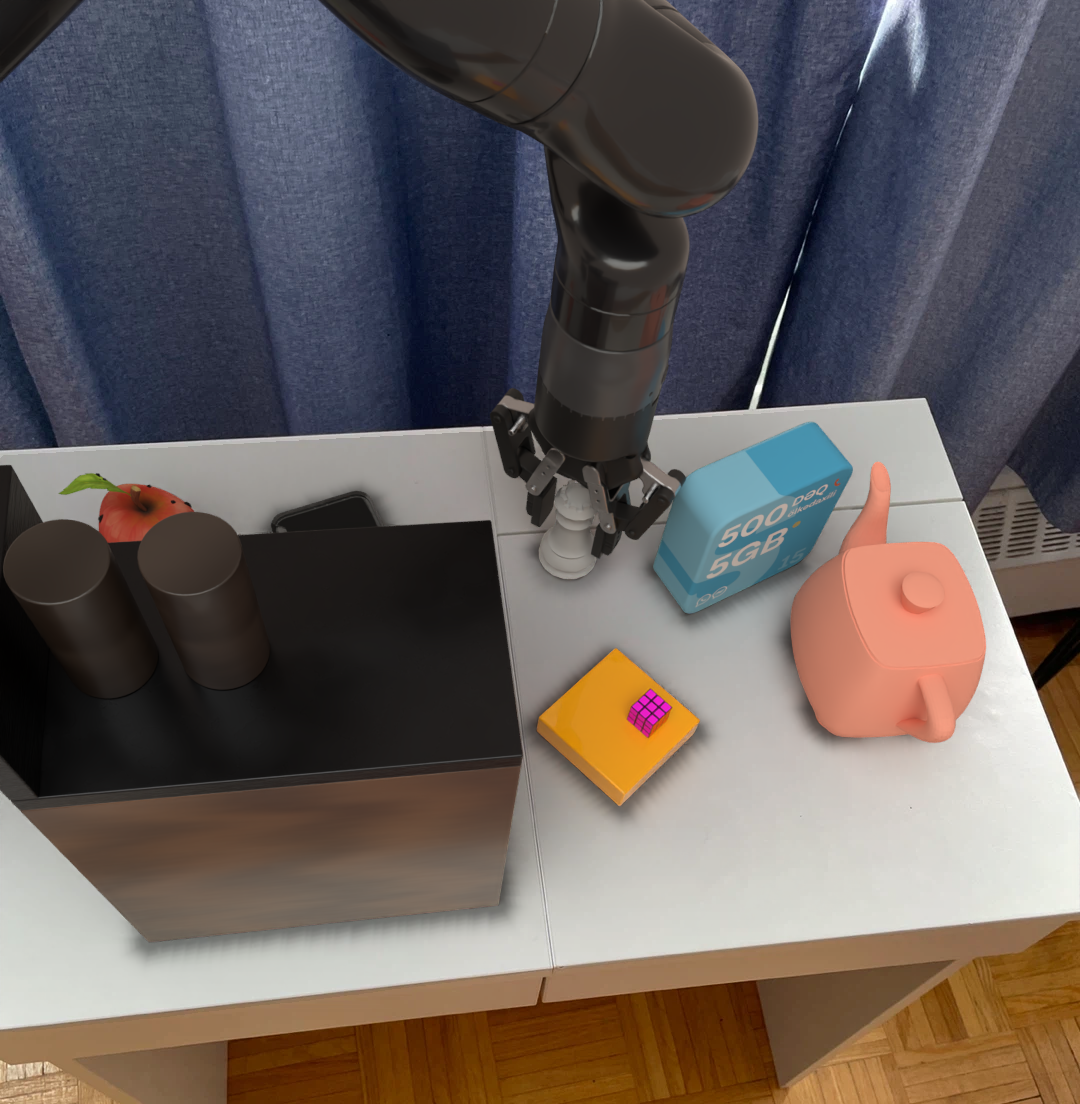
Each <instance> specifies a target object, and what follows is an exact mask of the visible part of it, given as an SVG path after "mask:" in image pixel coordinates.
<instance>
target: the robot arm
mask: <svg viewBox="0 0 1080 1104" xmlns="http://www.w3.org/2000/svg"><path fill="white" fill-rule="evenodd" d="M85 2H86V0H0V84H2V83H3V81H5V80H6V79H7V78H8V77H9V76H10V75H11V74H12V73H13V72H14V71H15V70H16V69H17V68H18V67H19V66H20V65H21V64H22V63H23V62H24V61H25V60H26V59H27V58H28V57H29V56H30V55H31V54H32V53H33V52H34V51H35V50H36V49H38V47H39V46H40V45H41V44H43V43H44V42H45V41H46V40H47V38H48V37H50V35H52V34H53V33H54V32H55V31H56V30H57V29H58V28H59V27H60V26H61V25H62V24H63V23H64V22H65V21H66V20H67V19H68V18H69V17H70V16H71V15H72V14H73V13H74V12H75V11H76V10H77V9H78V8H79V7H81V5H82V4H83V3H85ZM317 2H319V3H320V4H321V5H322V6H323V7H324V8H326V9H327V10H328V12H330V13H331V14H332V15H333V16H334V17H335V18H336V19H338V20H339V21H340V22H341V23H342V24H343V25H344V26H346V27H347V28H348V29H349V30H350V31H351V32H352V33H354V35H356V36H357V37H358V38H359V39H360V40H362V42H364V43H365V44H366V45H367V46H368V47H369V48H371V50H372V51H375V53H377V54H378V55H379V56H381V57H382V58H383V59H385V60H386V62H389V63H390V64H391V65H392V66H394V67H395V68H397V69H398V70H400V71H401V72H402V73H404V74H405V75H406V76H408V77H410V78H412V79H413V80H415V81H417V82H418V83H420V84H422V85H423V86H425V87H427V88H429V89H431V90H432V91H435V92H436V93H438V94H440V95H442V96H444V97H446V98H448V99H449V100H451V101H453V102H456V103H458V104H460V105H461V106H463V107H465V108H468V109H470V110H471V111H473V112H475V113H477V114H479V115H481V116H483V117H485V118H487V119H488V120H491V121H493V122H496V123H498V124H500V125H502V126H505V127H507V128H510V129H513V130H516V131H519V132H520V133H523V134H524V135H526V136H528V137H530V138H531V139H533V140H535V141H536V142H537V143H539V144H541V145H543V153H544V160H545V167H546V175H547V183H548V189H549V190H548V191H549V197H550V204H551V208H552V213H553V217H554V222H555V228H556V234H557V243H556V250H555V256H554V263H553V264H554V265H553V273H552V281H551V288H550V297H549V299H550V300H549V303H548V307H547V309H546V314H545V317H544V321H543V325H542V331H541V339H540V349H539V358H538V368H537V377H536V386H535V396H534V403H532V402H528V401H525V397H524V395H523V393H522V392H521V391H520V390H519V389H517V388H515V387H510V388H509V389H507V391H506V392H505V394H504V395H503V396H502V397H501V399H500V400H499V401H498V403H497V404H496V405H495V406H494V407H493V409H492V410H491V411H490V413H489V418H490V422H491V426H492V431H493V433H494V436H495V441H496V445H497V448H498V453H499V457H500V461H501V463H502V468H503V471H504V473H505V474H506V475H507V476H508V477H509V478H511V479H518V478H520V479H521V480H523V481H524V483H525V485H524V486H525V487H524V488H525V489H526V491H527V493H526V494H527V495H526V504H525V511H526V514H527V515H528V516H530V525H533V526H535V527H537V528H541V527H542V526H543V524H545V522H546V520H547V519H548V517H549V516H550V514H551V512H552V511H553V509H554V506H555V501H554V497H555V495H556V493H557V484H558V477H557V476H555V475H556V474H558V476H561V477H563V478H566V479H568V480H575V482H576V483H580V484H581V485H582V486H584V487H585V488H587V489H588V490H589V494H590V499H591V504H592V508H593V509H594V510H597V516H598V521H599V523H598V524H597V526H596V527H595V531H594V535H593V536H594V541H593V546H592V550H591V555H593V556H595V557H597V559H599V560H600V559H601V558H602V557H603V556H604V555H605V556H607V557H608V556H610V555H611V554H612V553H613V552H614V550H615V548H616V547H617V545H618V544H619V542H620V541H621V539H622V534H623V533H624V534H625V536H626V537H627V538H628V539H630V540H633V541H638V540H640V539H641V537H643V535H644V534H645V533H646V532H647V531H648V530H649V529H650V528H651V527H652V526H653V524H655V523H656V521H657V520H658V519H659V518H660V517H661V516H663V514H664V513H665V512H666V510H668V509H669V507H670V506H671V505H672V503H673V500H674V498H675V497H676V495H677V494H678V492H679V490H680V489H681V487H682V486H683V484H684V483H685V481H686V477H687V476H686V475H685V473H684V472H683V471H681V470H679V469H677V468H672V469H670V470H669V472H665V471H664V470H663V469H661V468H660V467H658V466H657V465H656V464H654V463H653V462H652V461H651V460H652V453H651V450H650V446H649V437H650V433H651V431H652V426H653V422H654V419H655V415H656V411H657V407H658V403H659V399H660V395H661V391H662V387H663V384H664V383H665V381H666V378H667V374H668V371H669V368H670V367H669V366H670V365H669V361H670V360H669V359H670V356H671V351H672V345H673V337H674V336H673V334H674V323H675V318H676V314H677V311H678V305H679V302H680V298H681V294H682V290H683V286H684V282H685V279H686V274H687V269H688V265H689V260H690V253H691V251H690V250H691V247H690V245H691V243H690V233H689V230H688V229H689V228H688V226H687V224H686V221H685V220H684V218H688V217H690V216H694V215H697V214H700V213H702V212H704V211H706V210H708V209H711V208H712V207H714V206H715V205H717V204H718V203H719V202H721V201H722V200H723V199H724V198H726V197H727V196H728V195H729V194H730V193H732V191H733V190H734V189H735V188H736V187H737V185H738V184H739V182H740V181H741V180H742V178H743V177H744V175H745V173H746V172H747V170H748V168H749V166H750V164H751V162H752V159H753V157H754V154H755V150H756V146H757V142H758V136H759V109H758V108H759V107H758V102H757V98H756V95H755V92H754V89H753V86H752V85H751V83H750V80H749V78H748V77H747V75H746V73H744V71H743V70H742V69H741V68H740V67H739V66H738V64H736V63H735V62H734V61H733V60H732V59H731V58H730V57H729V56H728V55H727V54H726V53H725V52H724V51H722V49H720V48H719V46H717V44H715V43H714V42H713V41H711V39H710V38H708V37H707V36H706V35H705V34H704V33H702V31H700V30H699V28H697V27H696V26H695V25H694V24H693V23H691V22H690V21H689V20H688V19H687V18H686V17H685V16H684V15H683V14H682V13H681V12H680V11H678V9H677V8H675V7H674V6H673V4H671V3H670V2H669V1H668V0H317ZM534 438H535V440H536V442H537V444H538V446H539V448H540V450H541V451H542V453H543V455H544V456H543V458H542V459H540V458H539V457H537V455H536V452H537V451H536V447H535V442H534ZM638 479H639V480H641V482H642V485H643V486H642V488H641V493H642V495H643V496H642V498H641V501H642V502H641V503H640V504H639V506H638V505H637V506H636V505H632V501H631V495H630V485H631V482H633V481H636V480H638Z"/></svg>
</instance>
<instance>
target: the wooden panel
mask: <svg viewBox="0 0 1080 1104" xmlns="http://www.w3.org/2000/svg"><path fill="white" fill-rule="evenodd" d="M521 771H522V765H521V766H516V767H504V768H493V769H482V770H471V771H459V772H448V773H437V774H426V775H414V776H403V777H392V778H381V779H370V780H358V781H347V782H336V783H325V784H313V785H302V786H291V787H280V788H268V789H257V790H246V791H235V792H223V793H212V794H201V795H190V796H178V797H167V798H156V799H145V800H133V801H122V802H111V803H100V804H88V805H77V806H66V807H55V808H43V809H32V810H19V811H20V813H21V814H22V815H23V816H24V817H25V818H26V819H27V820H28V821H29V822H30V823H31V824H32V825H33V826H34V827H35V828H36V829H37V830H38V831H39V832H40V833H41V834H42V835H43V836H44V837H45V838H46V839H47V840H48V841H49V842H50V844H51V845H52V846H54V847H55V849H57V850H58V851H59V852H60V853H61V855H62V856H63V857H64V858H66V860H67V861H68V862H69V863H70V864H71V865H72V866H73V867H74V868H75V869H76V870H77V871H78V872H79V873H80V874H81V875H82V876H83V877H84V878H85V880H87V881H88V882H89V883H90V884H91V885H92V886H93V887H94V888H95V889H96V890H97V891H98V892H99V894H100V895H102V896H103V898H105V900H106V901H107V902H108V903H109V904H110V905H111V906H112V907H114V908H115V910H116V911H117V912H118V913H119V914H120V915H121V916H122V917H123V918H124V919H125V920H126V921H127V922H128V923H129V924H130V925H131V926H132V928H134V929H135V930H136V931H137V932H138V933H139V934H140V935H141V936H142V937H143V938H144V939H145V940H146V941H147V942H148V943H157V942H166V941H173V940H174V941H177V940H185V939H194V938H195V939H196V938H204V937H214V936H224V935H232V934H241V933H251V932H252V933H253V932H261V931H269V930H270V931H271V930H280V929H291V928H299V927H300V928H301V927H309V926H317V925H327V924H336V923H337V924H338V923H348V922H355V921H365V920H376V919H384V918H395V917H402V916H403V917H404V916H413V915H422V914H430V913H431V914H432V913H442V912H450V911H451V912H452V911H461V910H470V909H479V908H488V907H498V906H499V904H500V898H501V893H502V887H503V881H504V873H505V868H506V864H507V863H506V862H507V856H508V849H509V844H510V837H511V833H512V825H513V819H514V813H515V807H516V801H517V794H518V788H519V782H520V777H521Z"/></svg>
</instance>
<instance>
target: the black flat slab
mask: <svg viewBox="0 0 1080 1104" xmlns="http://www.w3.org/2000/svg"><path fill="white" fill-rule="evenodd" d="M43 522H44V521H43V519H42V517H41V516H40V514H39V512H38V510H37V509H36V507H35V504H34V503H33V501H32V499H31V497H30V496H29V494H28V492H27V490H26V488H25V487H24V485H23V483H22V482H21V480H20V478H19V476H18V473H16V470H15V469H14V467H13V465H12V464H0V792H1V793H2V795H4V796H5V797H6V798H7V799H8V801H10V803H12V804H13V806H15V807H16V809H17V810H19V811H20V810H32V809H43V808H55V807H66V806H77V805H88V804H100V803H111V802H122V801H133V800H145V799H156V798H167V797H178V796H190V795H201V794H212V793H223V792H235V791H246V790H257V789H268V788H280V787H291V786H302V785H313V784H325V783H336V782H347V781H358V780H370V779H381V778H392V777H403V776H414V775H426V774H437V773H448V772H459V771H471V770H482V769H493V768H504V767H516V766H521V767H522V764H523V757H524V751H523V745H522V738H521V729H520V723H519V722H520V721H519V715H518V714H519V713H518V707H517V700H516V699H517V698H516V693H515V691H516V690H515V686H514V677H513V671H512V670H513V669H512V662H511V656H510V648H509V640H508V633H507V625H506V617H505V610H504V603H503V596H502V589H501V581H500V574H499V565H498V558H497V551H496V544H495V535H494V530H493V529H494V528H493V521H492V520H491V519H483V520H481V519H480V520H465V521H449V522H433V523H432V522H431V523H416V524H415V523H414V524H399V525H398V524H397V525H384V526H380V527H363V528H346V529H329V530H313V531H296V532H279V533H273V532H264V533H249V534H238V537H239V539H240V542H241V545H242V549H243V552H244V556H245V559H246V563H247V566H248V570H249V573H250V576H251V580H252V583H253V587H254V590H255V594H256V597H257V601H258V604H259V608H260V611H261V615H262V618H263V621H264V625H265V628H266V632H267V635H268V639H269V642H270V654H269V659H268V661H267V664H266V666H265V667H264V669H263V670H262V672H261V673H260V674H259V675H258V676H257V677H256V678H255V679H253V680H252V681H250V682H249V683H247V684H245V685H243V686H240V687H237V688H233V689H227V690H218V689H211V688H208V687H205V686H202V685H200V684H198V683H197V682H195V681H194V680H193V679H192V678H190V676H189V675H188V674H187V673H186V671H185V669H184V667H183V665H182V663H181V661H180V659H179V656H178V654H177V652H176V650H175V647H174V645H173V643H172V641H171V639H170V636H169V634H168V632H167V630H166V628H165V625H164V623H163V621H162V619H161V616H160V614H159V612H158V610H157V608H156V605H155V603H154V601H153V599H152V597H151V594H150V592H149V590H148V588H147V585H146V583H145V581H144V579H143V577H142V574H141V572H140V570H139V566H138V560H137V556H138V549H139V546H140V543H141V541H128V542H111V543H108V544H109V547H110V549H111V551H112V553H113V555H114V557H115V559H116V561H117V563H118V565H119V567H120V570H121V572H122V574H123V576H124V578H125V580H126V582H127V584H128V586H129V588H130V590H131V592H132V595H133V597H134V599H135V601H136V603H137V605H138V607H139V609H140V611H141V613H142V615H143V618H144V620H145V622H146V624H147V626H148V628H149V630H150V632H151V634H152V636H153V638H154V640H155V643H156V645H157V649H158V661H157V665H156V668H155V670H154V672H153V674H152V676H151V677H150V678H149V680H148V681H147V682H146V683H145V684H144V685H143V686H141V687H140V688H139V689H137V690H136V691H134V692H132V693H130V694H128V695H125V696H122V697H118V698H106V699H105V698H97V697H93V696H90V695H87V694H85V693H83V692H82V691H80V690H79V689H78V688H77V687H76V686H75V685H74V684H73V683H72V682H71V680H70V679H69V677H68V676H67V674H66V673H65V671H64V670H63V668H62V667H61V665H60V664H59V662H58V661H57V659H56V658H55V656H54V655H53V653H52V651H51V650H50V648H49V647H48V645H47V644H46V642H45V641H44V639H43V638H42V636H41V635H40V633H39V632H38V630H37V629H36V627H35V626H34V624H33V623H32V621H31V620H30V618H29V617H28V615H27V614H26V612H25V611H24V609H23V608H22V606H21V605H20V603H19V602H18V600H17V599H16V597H15V596H14V594H13V593H12V591H11V590H10V588H9V586H8V585H7V583H6V580H5V578H4V572H3V564H4V559H5V556H6V553H7V551H8V549H9V547H10V546H11V544H12V543H13V542H14V541H15V539H16V538H17V537H18V536H20V535H21V534H22V533H23V532H25V531H26V530H28V529H29V528H31V527H33V526H35V525H37V524H40V523H43Z"/></svg>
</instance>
